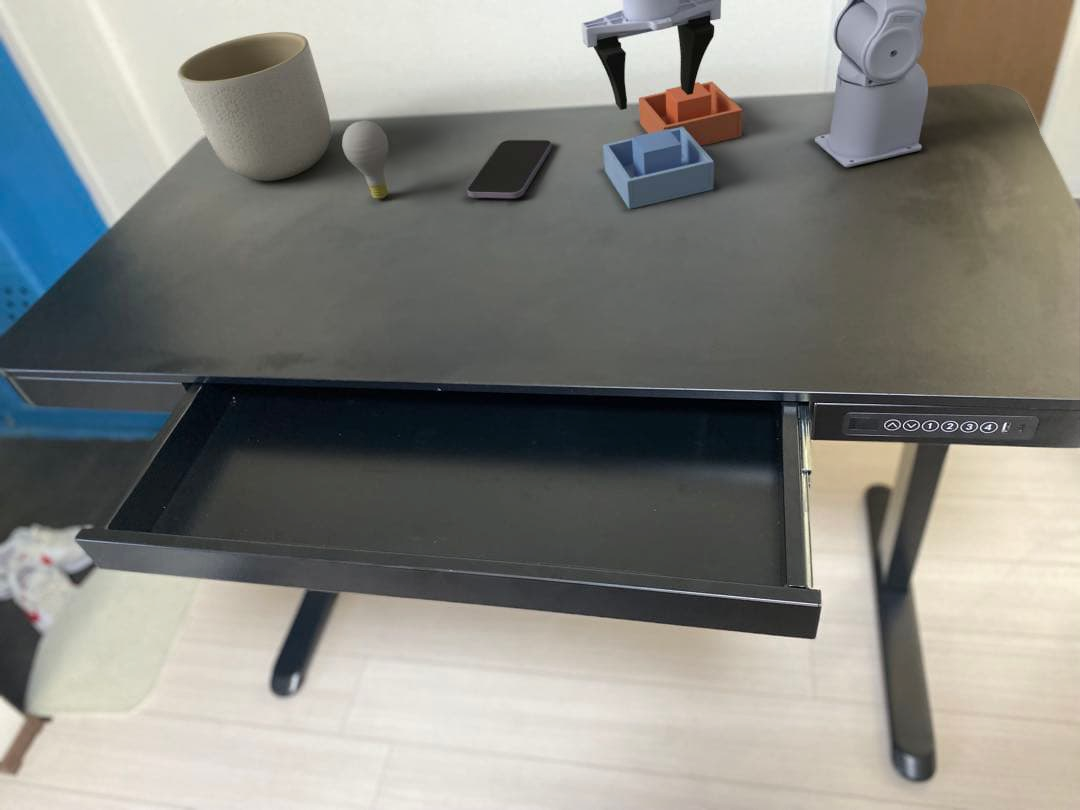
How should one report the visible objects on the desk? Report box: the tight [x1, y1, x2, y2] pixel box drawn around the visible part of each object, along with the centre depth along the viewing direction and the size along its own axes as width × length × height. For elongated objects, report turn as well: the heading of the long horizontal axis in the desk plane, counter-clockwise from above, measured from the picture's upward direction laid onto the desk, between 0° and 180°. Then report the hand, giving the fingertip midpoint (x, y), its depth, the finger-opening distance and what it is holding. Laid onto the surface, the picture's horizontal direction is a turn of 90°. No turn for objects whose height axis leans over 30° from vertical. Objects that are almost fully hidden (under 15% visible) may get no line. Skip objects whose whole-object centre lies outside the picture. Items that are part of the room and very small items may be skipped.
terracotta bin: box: [638, 81, 743, 147], centre depth 102 cm, size 10×10×4 cm
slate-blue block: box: [631, 129, 682, 177], centre depth 93 cm, size 4×4×4 cm
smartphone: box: [466, 139, 553, 199], centre depth 101 cm, size 7×1×15 cm
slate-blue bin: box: [602, 127, 715, 210], centre depth 94 cm, size 10×10×4 cm
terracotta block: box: [665, 81, 711, 125], centre depth 102 cm, size 4×4×4 cm
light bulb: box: [341, 120, 389, 201], centre depth 98 cm, size 6×6×10 cm
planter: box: [177, 31, 332, 182], centre depth 108 cm, size 17×17×15 cm
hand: (654, 98), depth 88 cm, fingers open, 7 cm apart
